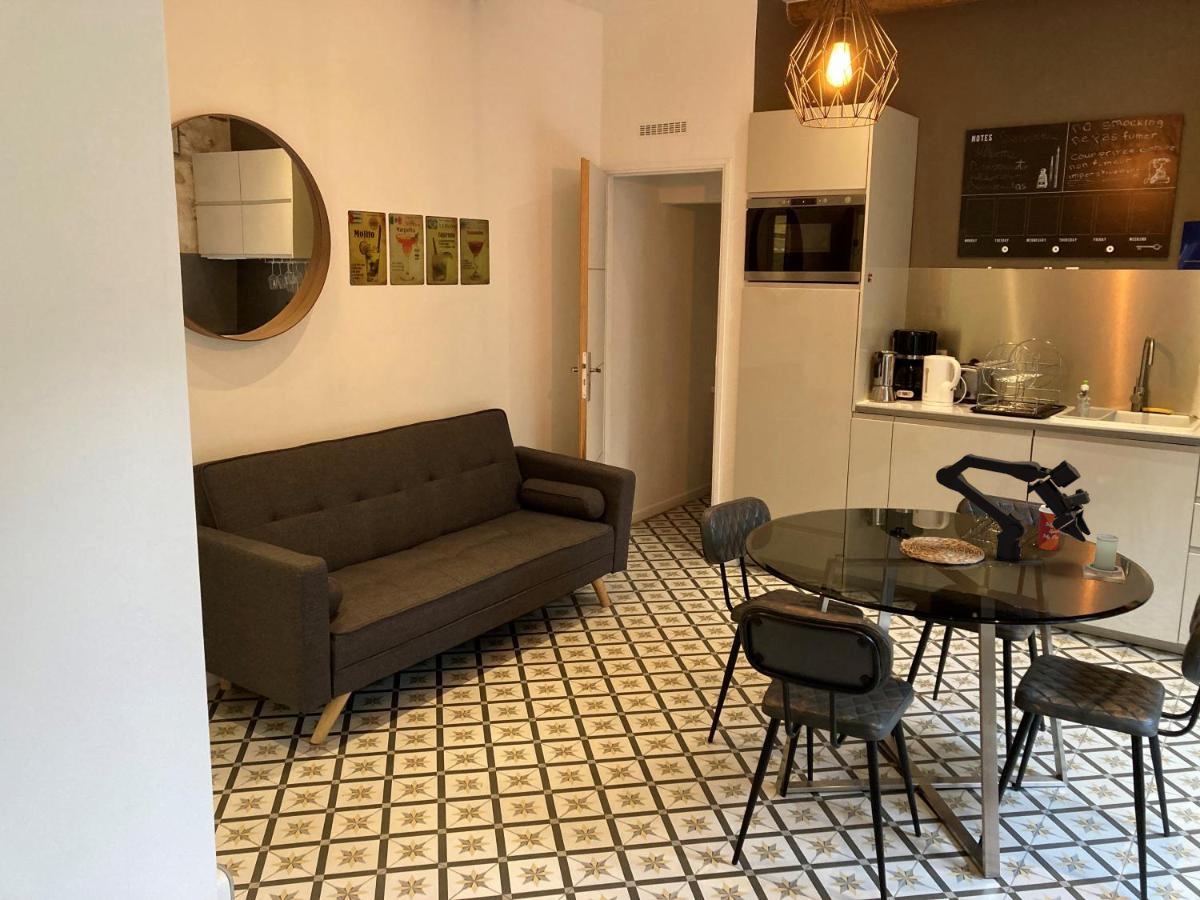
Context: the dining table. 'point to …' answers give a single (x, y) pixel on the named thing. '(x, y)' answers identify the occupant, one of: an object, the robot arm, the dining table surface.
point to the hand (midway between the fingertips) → (1087, 537)
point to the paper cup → (1047, 530)
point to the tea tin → (1105, 552)
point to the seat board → (1103, 574)
